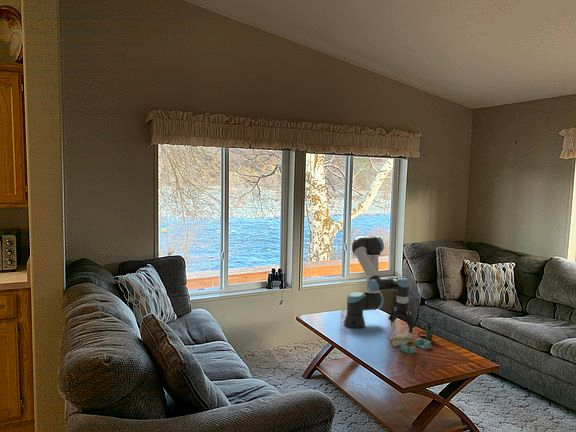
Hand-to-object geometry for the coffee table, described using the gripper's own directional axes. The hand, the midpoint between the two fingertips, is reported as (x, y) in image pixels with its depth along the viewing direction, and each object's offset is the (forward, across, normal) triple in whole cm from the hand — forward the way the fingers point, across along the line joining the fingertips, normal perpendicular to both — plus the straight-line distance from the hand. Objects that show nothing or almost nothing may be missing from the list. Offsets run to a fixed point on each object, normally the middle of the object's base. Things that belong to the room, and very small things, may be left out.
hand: (401, 334), depth 282 cm
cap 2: (+6, +12, +8) cm, 15 cm away
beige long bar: (+6, -1, 0) cm, 6 cm away
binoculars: (+6, +4, +19) cm, 20 cm away
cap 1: (+6, +12, -7) cm, 15 cm away
